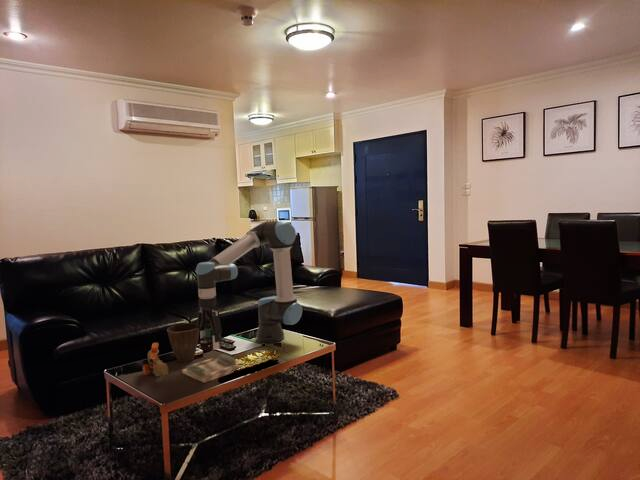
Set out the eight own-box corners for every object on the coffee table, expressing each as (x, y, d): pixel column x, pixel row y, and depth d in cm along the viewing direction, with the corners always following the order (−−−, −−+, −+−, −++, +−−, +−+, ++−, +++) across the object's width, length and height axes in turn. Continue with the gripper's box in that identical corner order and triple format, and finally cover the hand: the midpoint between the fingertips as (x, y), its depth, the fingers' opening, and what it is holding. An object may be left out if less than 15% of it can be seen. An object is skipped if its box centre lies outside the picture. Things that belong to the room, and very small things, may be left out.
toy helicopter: (160, 368, 204) (157, 339, 203) (177, 381, 188) (175, 349, 187) (141, 373, 199) (139, 343, 198) (157, 386, 183) (155, 354, 182)
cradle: (218, 360, 211) (218, 352, 211) (241, 369, 199) (240, 360, 198) (182, 372, 197) (181, 364, 197) (204, 382, 185) (203, 373, 185)
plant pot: (176, 367, 204) (174, 333, 203) (164, 359, 216) (162, 327, 215) (206, 359, 214) (204, 327, 213) (193, 352, 225) (191, 321, 224)
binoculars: (192, 328, 194) (208, 321, 202) (195, 351, 195) (211, 342, 204) (207, 331, 189) (223, 323, 198) (210, 354, 191) (226, 345, 199)
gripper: (186, 295, 200) (189, 344, 202) (213, 301, 185) (216, 354, 187) (201, 293, 206) (204, 340, 207) (228, 298, 190) (231, 349, 192)
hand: (210, 346), depth 197 cm, fingers closed on binoculars, 9 cm apart
